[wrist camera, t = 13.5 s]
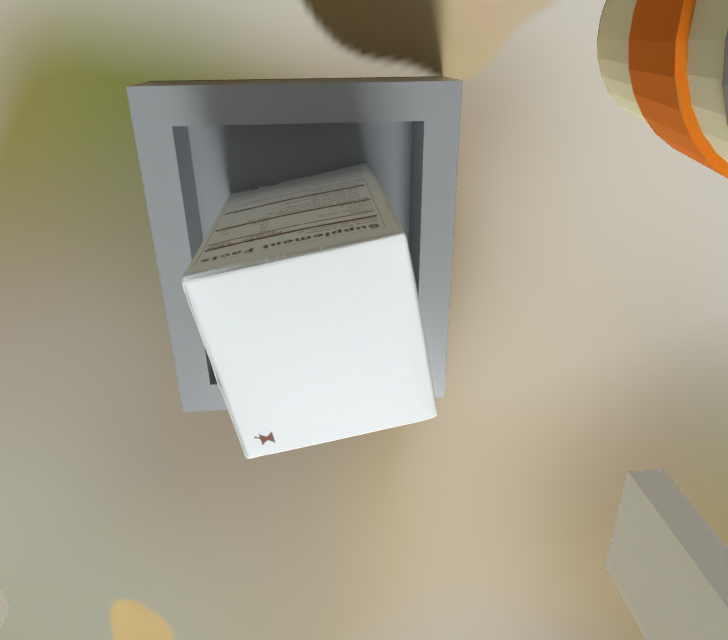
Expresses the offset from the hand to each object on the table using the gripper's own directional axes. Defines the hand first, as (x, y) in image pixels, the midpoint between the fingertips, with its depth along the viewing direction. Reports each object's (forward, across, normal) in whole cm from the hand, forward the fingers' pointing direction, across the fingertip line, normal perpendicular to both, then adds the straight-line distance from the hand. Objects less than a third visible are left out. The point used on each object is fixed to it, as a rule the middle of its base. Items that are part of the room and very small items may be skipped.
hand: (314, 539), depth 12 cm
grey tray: (+21, 0, 0) cm, 21 cm away
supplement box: (+21, 0, 0) cm, 21 cm away
